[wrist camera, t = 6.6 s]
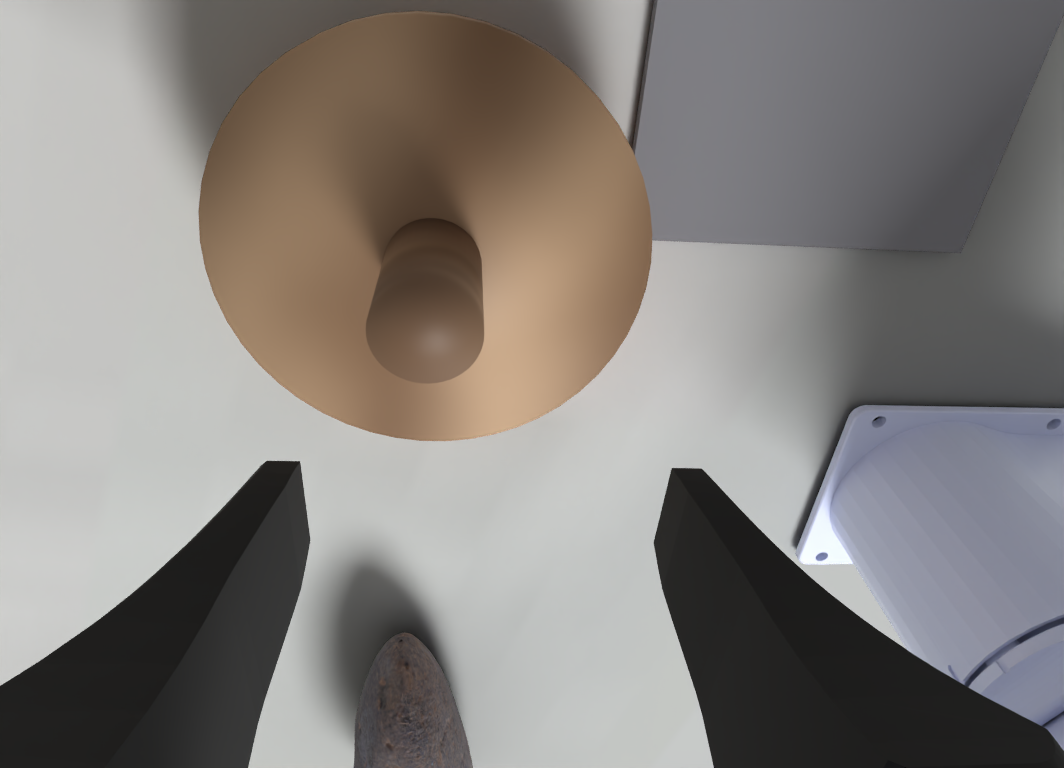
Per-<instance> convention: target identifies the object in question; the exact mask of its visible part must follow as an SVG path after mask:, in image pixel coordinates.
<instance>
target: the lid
mask: <svg viewBox="0 0 1064 768" xmlns="http://www.w3.org/2000/svg"><path fill="white" fill-rule="evenodd" d="M199 230H200V243H201V248H202V254H203V259H204V264H205V269H206V272H207V275H208V278H209V281H210V284H211V287H212V290H213V293H214V296H215V298H216V300H217V302H218V304H219V306H220V308H221V310H222V312H223V314H224V316H225V318H226V320H227V322H228V324H229V325H230V327H231V328H232V330H233V331H234V333H235V334H236V336H237V337H238V339H239V340H240V342H241V344H242V345H243V346H244V347H245V348H246V350H247V351H248V352H249V353H250V354H251V356H252V357H253V358H254V359H255V360H256V361H257V363H258V364H259V365H260V366H261V367H262V368H263V369H264V370H265V371H266V372H267V373H268V374H270V375H271V376H272V377H273V378H274V379H275V380H276V381H277V382H278V383H279V384H280V385H282V386H283V387H284V388H286V389H287V390H288V391H290V392H291V393H292V394H294V395H295V396H296V397H298V398H299V399H300V400H302V401H304V402H305V403H307V404H309V405H310V406H312V407H314V408H315V409H317V410H319V411H320V412H322V413H324V414H326V415H329V416H331V417H333V418H335V419H337V420H339V421H342V422H344V423H346V424H349V425H352V426H355V427H358V428H360V429H363V430H366V431H369V432H373V433H377V434H382V435H386V436H391V437H395V438H403V439H411V440H419V441H452V440H463V439H472V438H477V437H482V436H488V435H493V434H496V433H500V432H503V431H506V430H509V429H513V428H516V427H519V426H521V425H523V424H526V423H528V422H530V421H533V420H535V419H537V418H540V417H541V416H543V415H545V414H547V413H548V412H550V411H552V410H554V409H555V408H557V407H559V406H561V405H562V404H563V403H565V402H566V401H567V400H569V399H570V398H571V397H573V396H574V395H576V394H577V393H578V392H580V391H581V390H582V389H583V388H584V387H585V386H586V385H587V384H588V383H589V382H590V381H592V380H593V379H594V378H595V377H596V376H597V375H598V374H599V373H600V371H601V370H602V369H603V368H604V367H605V366H606V364H607V363H608V362H609V361H610V360H611V358H612V357H613V356H614V355H615V353H616V351H617V350H618V348H619V347H620V345H621V344H622V342H623V341H624V339H625V338H626V336H627V334H628V332H629V330H630V328H631V326H632V324H633V322H634V320H635V318H636V316H637V314H638V311H639V308H640V305H641V302H642V299H643V296H644V293H645V290H646V286H647V281H648V275H649V270H650V265H651V253H652V225H651V213H650V205H649V201H648V196H647V192H646V187H645V183H644V179H643V176H642V174H641V171H640V168H639V166H638V163H637V160H636V158H635V155H634V152H633V150H632V148H631V147H630V145H629V143H628V141H627V139H626V137H625V136H624V134H623V132H622V130H621V128H620V126H619V125H618V123H617V122H616V120H615V119H614V118H613V116H612V115H611V114H610V112H609V111H608V110H607V108H606V107H605V106H604V104H603V103H602V102H601V100H600V99H599V98H598V97H597V95H596V94H595V93H594V92H593V91H592V90H591V89H590V88H589V87H588V86H587V85H586V84H585V83H584V82H583V81H582V80H581V79H580V78H579V77H578V76H577V75H576V74H575V73H574V72H573V71H572V70H571V69H570V68H569V67H567V66H566V65H565V64H564V63H562V62H561V61H560V60H558V59H557V58H556V57H554V56H553V55H552V54H551V53H549V52H548V51H547V50H545V49H543V48H542V47H540V46H538V45H536V44H535V43H533V42H531V41H529V40H527V39H526V38H524V37H522V36H520V35H519V34H517V33H514V32H512V31H509V30H506V29H504V28H501V27H499V26H496V25H494V24H491V23H489V22H486V21H482V20H478V19H473V18H469V17H465V16H461V15H456V14H451V13H439V12H428V11H408V12H392V13H383V14H378V15H373V16H369V17H364V18H359V19H355V20H351V21H349V22H346V23H344V24H341V25H338V26H336V27H333V28H331V29H328V30H325V31H323V32H321V33H319V34H317V35H316V36H314V37H312V38H310V39H309V40H307V41H305V42H303V43H302V44H300V45H298V46H296V47H295V48H293V49H291V50H289V51H288V52H286V53H285V54H283V55H282V56H281V57H280V58H279V59H277V60H276V61H275V62H274V63H272V64H271V65H270V66H269V67H267V68H266V69H265V70H264V71H262V72H261V73H260V74H259V75H258V76H257V77H256V79H255V80H254V81H253V82H252V83H251V84H250V85H249V86H248V88H247V89H246V90H245V91H244V92H243V93H242V94H241V95H240V96H239V98H238V99H237V101H236V102H235V104H234V105H233V107H232V109H231V110H230V112H229V113H228V115H227V116H226V118H225V119H224V121H223V123H222V124H221V127H220V129H219V131H218V133H217V136H216V138H215V140H214V143H213V145H212V147H211V149H210V152H209V155H208V159H207V163H206V167H205V171H204V175H203V178H202V183H201V193H200V203H199Z"/></svg>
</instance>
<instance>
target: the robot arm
mask: <svg viewBox="0 0 1064 768" xmlns="http://www.w3.org/2000/svg"><path fill="white" fill-rule="evenodd" d="M879 416H880V417H879ZM877 417H879V418H878V419H877V420H875V421H873V420H874V419H875V418H877ZM309 544H310V534H309V527H308V519H307V511H306V504H305V496H304V488H303V481H302V473H301V465H300V461H266V462H265V463H264V464H263V465H261V466H260V468H259V469H258V470H257V471H256V472H255V473H254V474H253V475H252V476H251V477H250V479H249V480H248V481H247V482H246V483H245V484H244V485H243V486H242V487H241V489H240V490H239V491H238V492H237V493H236V494H235V495H234V496H233V497H232V498H231V499H230V501H229V502H228V503H227V504H226V505H225V506H224V507H223V508H222V509H221V510H220V511H219V512H218V513H217V514H216V515H215V516H214V517H213V518H212V519H211V520H210V521H209V522H208V524H207V525H206V526H205V527H204V528H203V529H202V530H201V531H200V532H199V533H198V534H197V535H196V536H195V537H194V538H193V539H192V540H191V541H190V542H189V543H188V544H187V545H186V546H185V547H183V548H182V549H181V550H180V551H179V552H178V553H177V554H176V555H175V556H174V557H173V558H172V559H170V560H169V561H168V562H167V563H166V564H165V565H164V566H163V567H162V568H161V569H160V570H159V571H157V572H156V573H155V574H154V575H153V576H152V577H151V578H150V579H149V580H147V581H146V582H145V583H144V584H143V585H142V586H140V587H139V588H138V589H137V590H136V591H134V592H133V593H132V594H131V595H130V596H128V597H127V598H126V599H125V600H123V601H122V602H121V603H120V604H118V605H117V606H116V607H115V608H113V609H112V610H111V611H110V612H108V613H107V614H106V615H104V616H103V617H102V618H101V619H99V620H98V621H96V622H95V623H94V624H92V625H91V626H90V627H88V628H87V629H85V630H84V631H82V632H81V633H80V634H78V635H77V636H75V637H74V638H72V639H71V640H70V641H68V642H67V643H65V644H64V645H62V646H61V647H60V648H58V649H57V650H55V651H54V652H52V653H51V654H49V655H48V656H47V657H45V658H44V659H42V660H41V661H39V662H38V663H36V664H35V665H33V666H31V667H30V668H28V669H27V670H25V671H23V672H22V673H20V674H19V675H17V676H15V677H14V678H12V679H11V680H9V681H8V682H6V683H4V684H3V685H1V686H0V768H248V765H249V761H250V756H251V752H252V747H253V743H254V738H255V734H256V729H257V725H258V721H259V718H260V714H261V711H262V707H263V704H264V700H265V697H266V694H267V691H268V688H269V685H270V682H271V679H272V676H273V673H274V670H275V667H276V664H277V661H278V658H279V655H280V652H281V649H282V646H283V643H284V640H285V637H286V633H287V630H288V627H289V624H290V621H291V618H292V615H293V612H294V609H295V606H296V603H297V600H298V596H299V593H300V590H301V585H302V581H303V576H304V571H305V566H306V560H307V555H308V550H309ZM654 546H655V552H656V558H657V564H658V569H659V574H660V579H661V584H662V589H663V592H664V596H665V599H666V602H667V605H668V608H669V611H670V614H671V618H672V621H673V624H674V627H675V630H676V633H677V636H678V639H679V642H680V645H681V648H682V651H683V654H684V657H685V660H686V663H687V666H688V670H689V673H690V676H691V679H692V682H693V685H694V688H695V691H696V694H697V698H698V701H699V705H700V708H701V712H702V716H703V720H704V724H705V729H706V734H707V738H708V743H709V747H710V752H711V756H712V761H713V765H714V768H1064V408H1012V407H950V406H887V405H864V406H860V407H857V408H855V409H854V410H853V411H852V412H851V413H850V415H849V417H848V419H847V422H846V424H845V427H844V429H843V432H842V435H841V437H840V440H839V442H838V445H837V447H836V450H835V452H834V455H833V457H832V460H831V463H830V465H829V468H828V470H827V473H826V475H825V478H824V480H823V483H822V486H821V488H820V491H819V493H818V496H817V498H816V501H815V503H814V506H813V508H812V511H811V514H810V516H809V519H808V521H807V524H806V526H805V529H804V531H803V534H802V536H801V539H800V542H799V544H798V547H797V549H796V556H797V558H798V560H799V561H800V562H801V563H802V564H854V565H855V567H856V569H857V570H858V572H859V573H860V575H861V577H862V578H863V580H864V581H865V583H866V585H867V586H868V588H869V589H870V591H871V593H872V594H873V596H874V597H875V599H876V601H877V602H878V604H879V605H880V607H881V609H882V610H883V612H884V614H885V615H886V617H887V618H888V620H889V622H890V623H891V625H892V626H893V628H894V630H895V631H896V633H897V634H898V636H899V638H900V639H901V641H902V642H903V644H904V646H905V647H906V649H907V650H906V649H905V648H903V647H902V646H900V645H899V644H897V643H896V642H895V641H893V640H892V639H890V638H889V637H887V636H886V635H884V634H883V633H881V632H880V631H878V630H877V629H876V628H874V627H873V626H871V625H870V624H869V623H867V622H866V621H864V620H863V619H862V618H860V617H859V616H858V615H856V614H855V613H854V612H853V611H851V610H850V609H849V608H847V607H846V606H845V605H844V604H842V603H841V602H840V601H839V600H837V599H836V598H835V597H833V596H832V595H831V594H830V593H828V592H827V591H826V590H825V589H824V588H822V587H821V586H820V585H819V584H818V583H816V582H815V581H814V580H813V579H812V578H811V577H810V576H808V575H807V574H806V573H805V572H804V571H803V570H802V569H801V568H800V567H798V566H797V565H796V564H795V563H794V562H793V561H792V560H791V559H790V558H788V557H787V556H786V555H785V554H784V553H783V552H782V551H781V550H780V549H779V548H778V547H777V546H776V545H775V544H774V543H773V542H772V541H771V540H770V539H769V538H768V537H767V536H766V535H765V534H764V533H763V532H762V531H761V530H760V529H759V528H758V527H757V526H756V525H755V524H754V523H753V522H752V521H751V520H750V519H749V518H748V517H747V516H746V515H745V514H744V513H743V512H742V511H741V510H740V509H739V508H738V507H737V506H736V504H735V503H734V502H733V501H732V500H731V499H730V498H729V497H728V496H727V495H726V494H725V493H724V492H723V491H722V490H721V488H720V487H719V486H718V485H717V484H716V483H715V482H714V481H713V480H712V479H711V478H710V477H709V476H708V475H707V474H706V473H705V472H704V471H703V470H702V469H692V468H672V470H671V474H670V478H669V482H668V486H667V490H666V494H665V498H664V503H663V507H662V511H661V515H660V519H659V523H658V527H657V531H656V535H655V540H654Z"/></svg>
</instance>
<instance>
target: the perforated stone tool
mask: <svg viewBox="0 0 1064 768" xmlns="http://www.w3.org/2000/svg"><path fill="white" fill-rule="evenodd" d="M354 768H473V766H472V760H471V756H470V751H469V745H468V741H467V737H466V734H465V731H464V728H463V724H462V721H461V718H460V715H459V713H458V709H457V706H456V703H455V700H454V697H453V695H452V692H451V689H450V687H449V684H448V682H447V680H446V678H445V675H444V673H443V671H442V669H441V668H440V666H439V664H438V663H437V661H436V659H435V658H434V656H433V655H432V653H431V652H430V651H429V649H428V648H427V647H426V646H425V645H424V644H423V643H422V642H421V641H420V640H419V639H418V638H417V637H415V636H414V635H412V634H410V633H406V632H405V633H404V632H403V633H399V634H396V635H395V636H393V637H392V638H390V639H389V640H388V641H386V643H385V644H384V645H383V647H382V648H381V649H380V651H379V652H378V654H377V656H376V657H375V659H374V661H373V664H372V666H371V668H370V671H369V673H368V676H367V678H366V681H365V684H364V687H363V690H362V693H361V697H360V701H359V705H358V709H357V715H356V721H355V758H354Z"/></svg>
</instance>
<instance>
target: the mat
mask: <svg viewBox="0 0 1064 768" xmlns="http://www.w3.org/2000/svg"><path fill="white" fill-rule="evenodd" d="M1063 16H1064V0H654V3H653V10H652V17H651V24H650V31H649V38H648V45H647V51H646V58H645V65H644V72H643V79H642V86H641V93H640V99H639V106H638V113H637V120H636V127H635V134H634V141H633V147H632V150H633V152H634V155H635V158H636V160H637V163H638V166H639V168H640V171H641V174H642V176H643V179H644V183H645V187H646V192H647V196H648V201H649V205H650V213H651V225H652V240H658V241H682V242H707V243H731V244H755V245H780V246H804V247H829V248H853V249H877V250H902V251H926V252H950V253H961V251H962V249H963V247H964V244H965V242H966V240H967V238H968V235H969V233H970V231H971V228H972V226H973V224H974V221H975V219H976V217H977V214H978V212H979V210H980V207H981V205H982V203H983V201H984V198H985V196H986V194H987V191H988V189H989V187H990V184H991V182H992V180H993V177H994V175H995V173H996V170H997V168H998V166H999V164H1000V161H1001V159H1002V157H1003V154H1004V152H1005V150H1006V147H1007V145H1008V143H1009V140H1010V138H1011V136H1012V133H1013V131H1014V129H1015V127H1016V124H1017V122H1018V120H1019V117H1020V115H1021V113H1022V110H1023V108H1024V106H1025V103H1026V101H1027V99H1028V96H1029V94H1030V92H1031V90H1032V87H1033V85H1034V83H1035V80H1036V78H1037V76H1038V73H1039V71H1040V69H1041V66H1042V64H1043V62H1044V59H1045V57H1046V55H1047V53H1048V50H1049V48H1050V46H1051V43H1052V41H1053V39H1054V36H1055V34H1056V32H1057V29H1058V27H1059V25H1060V22H1061V20H1062V18H1063Z"/></svg>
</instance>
